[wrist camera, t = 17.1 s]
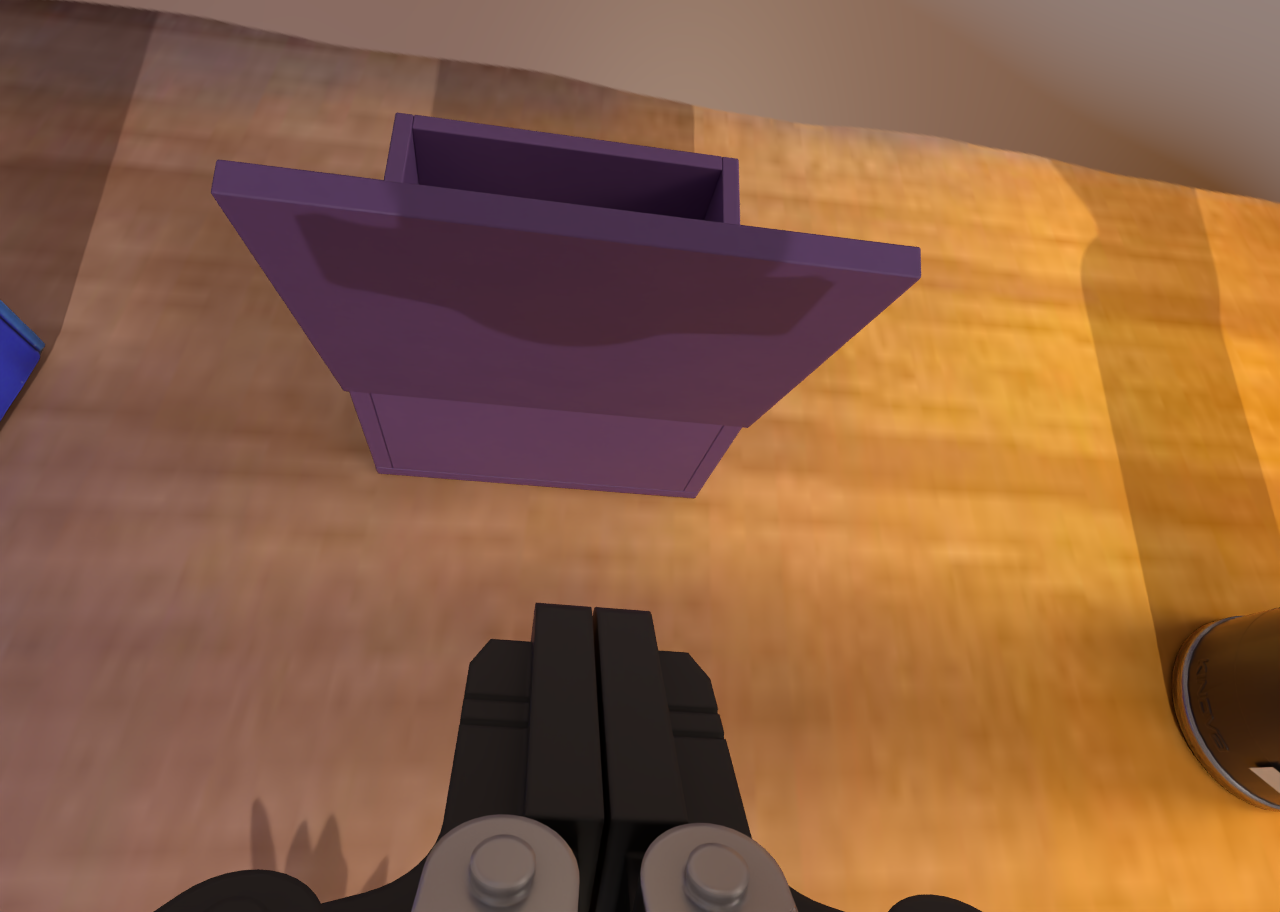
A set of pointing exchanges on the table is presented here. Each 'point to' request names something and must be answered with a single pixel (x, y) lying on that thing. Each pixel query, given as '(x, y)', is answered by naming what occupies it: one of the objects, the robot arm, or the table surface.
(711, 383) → the lid
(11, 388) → the toner cartridge
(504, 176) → the box
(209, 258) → the table surface
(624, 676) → the robot arm
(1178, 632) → the table surface
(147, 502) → the table surface
